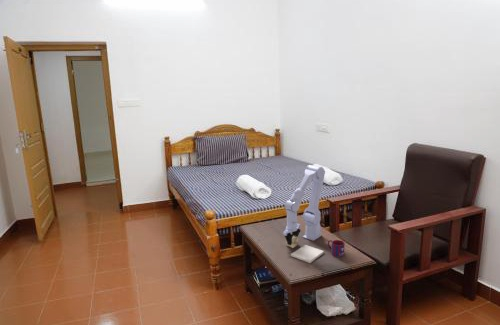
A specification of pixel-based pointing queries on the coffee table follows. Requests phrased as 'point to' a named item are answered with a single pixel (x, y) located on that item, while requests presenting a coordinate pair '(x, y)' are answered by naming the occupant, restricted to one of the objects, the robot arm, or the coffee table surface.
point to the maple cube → (293, 242)
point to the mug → (337, 248)
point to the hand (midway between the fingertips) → (292, 242)
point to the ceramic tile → (307, 253)
